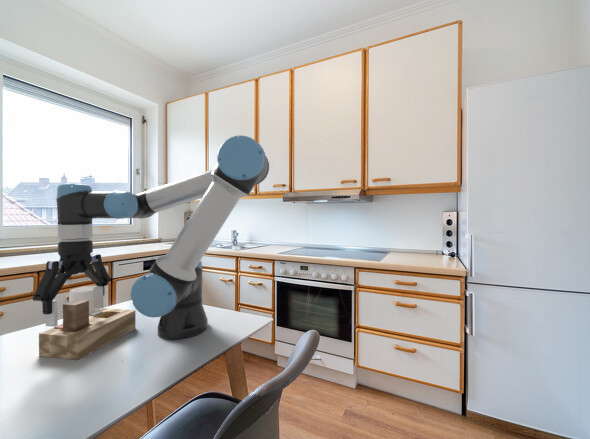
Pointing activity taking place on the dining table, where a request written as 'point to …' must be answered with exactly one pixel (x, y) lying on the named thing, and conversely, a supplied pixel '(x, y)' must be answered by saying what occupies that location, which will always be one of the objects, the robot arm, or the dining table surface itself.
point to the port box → (87, 334)
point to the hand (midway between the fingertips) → (77, 316)
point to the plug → (75, 315)
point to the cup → (83, 296)
